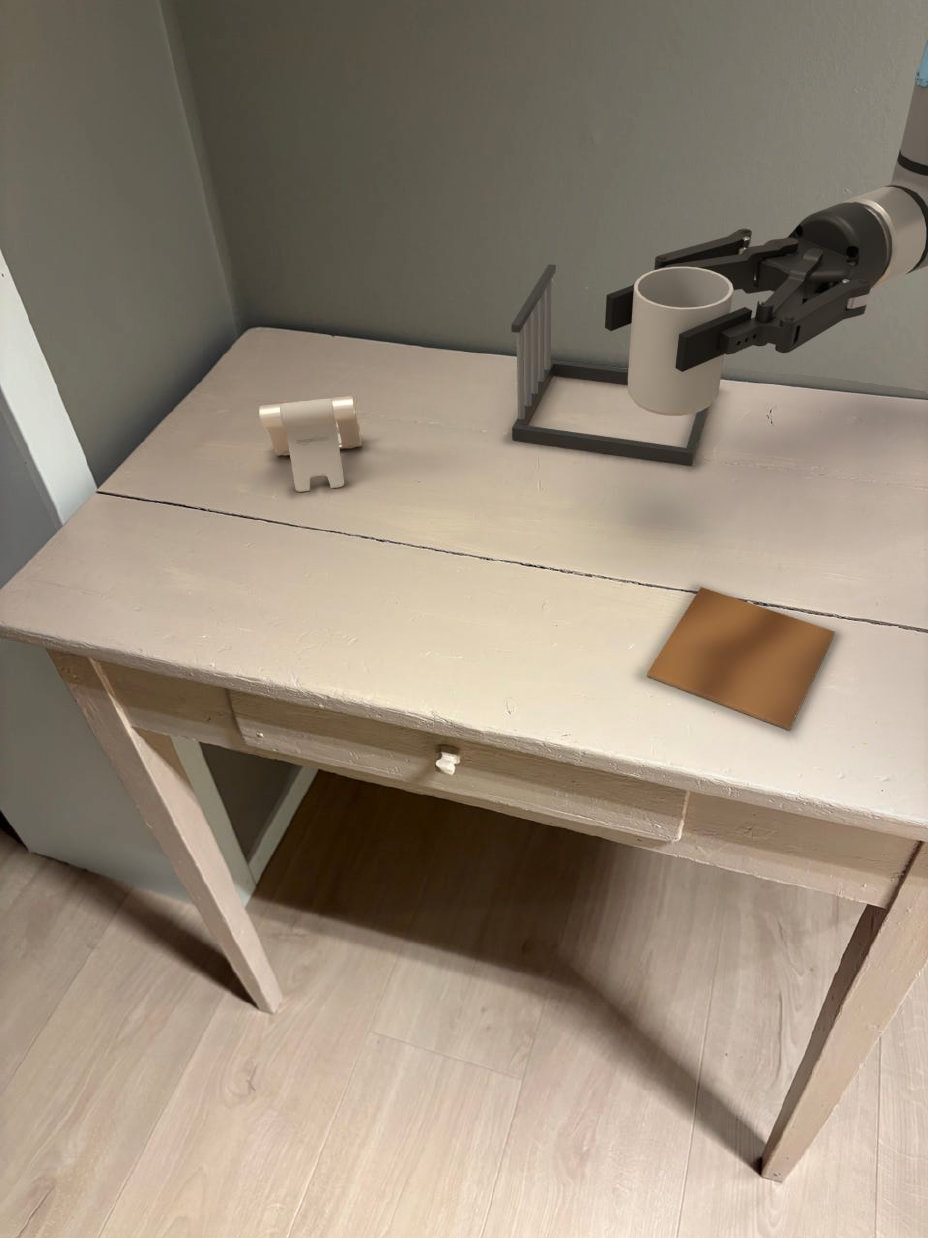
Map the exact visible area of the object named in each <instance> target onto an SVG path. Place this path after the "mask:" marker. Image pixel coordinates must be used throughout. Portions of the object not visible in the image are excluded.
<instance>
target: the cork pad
mask: <svg viewBox="0 0 928 1238" xmlns="http://www.w3.org/2000/svg"><path fill="white" fill-rule="evenodd" d="M834 636H835V631H834V630H831V629H829V628H825V627H823V626H819V625H817V624H814V623H812V622H811V623H810V622H807V621H805V620H802V619H798V618H795V617H793V616H789V615H788V614H783V613H781V612H778V611H774V610H772V609H769V608H766V607H762V606H760V605H756V604H754V603H751V602H747V601H744V600H741V599H738V598H736V597H732V596H730V595H727V594H724V593H721V592H718V591H714V590H711V589H708V588H705V587H702V586H701V587H700V588H699V589H698V591H697V592H696V593H695V595H694V598H693V599H692V601H691V602H690V604H689V605H688V607H687V609H686V610H685V612H684V613H683V615H682V617H681V618H680V620H679V621H678V622H677V625H676V626H675V628H674V630H673V631H672V632H671V634H670V636H669V637H668V638H667V640H666V642H665V644H664V645H663V647H662V649H661V650H660V652H659V653H658V655H657V656H656V658H655V660H654V661H653V663H652V665H651V666H650V667H649V669H648V671H647V674H646V676H647V677H648V678H650V679H653V680H656V681H659V682H661V683H664V684H667V685H669V686H672V687H675V688H676V689H679V690H682V691H685V692H687V693H690V694H693V695H695V696H698V697H701V698H704V699H705V700H709V701H711V702H713V703H716V704H719V705H722V706H725V707H727V708H729V709H732V710H735V711H738V712H740V713H743V714H746V715H747V716H750V717H753V718H756V719H759V720H761V721H764V722H767V723H769V724H772V725H775V726H777V727H780V728H782V729H784V730H787V731H790V730H791V728H792V726H793V724H794V721H795V720H796V717H797V715H798V713H799V711H800V709H801V707H802V705H803V702H804V701H805V698H806V696H807V694H808V692H809V690H810V687H811V685H812V683H813V681H814V679H815V677H816V674H817V673H818V670H819V668H820V666H821V664H822V661H823V659H824V657H825V655H826V653H827V650H828V649H829V647H830V644H831V642H832V639H833V638H834Z"/></svg>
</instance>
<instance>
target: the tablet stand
mask: <svg viewBox="0 0 928 1238" xmlns="http://www.w3.org/2000/svg"><path fill="white" fill-rule="evenodd" d="M258 409H259V410H258V412H259V413H258V414H259V420H260V424H261V428H262V430H267V432H268V435H269V438H270V442H271V444H272V447H273V449H274V453H275V455H276V456H289V457H290V463H291V471H292V477H293V483H294V489H295V490H296V492H300V493H302V492H310V491H311V478H314V477H323V476H325V477H326V478H327V480H328V483H329V486H330V489H338V488H342V487H344V485H345V477H344V470H343V463H342V455H341V450H340V449H355V448H358V447H363V442H362V434H361V428H360V427H361V426H360V422H359V421H358V416H357V411H356V406H355V400H354V396H353V395H347V396H338V397H331V398H330V397H329V398H320V399H309V400H301V401H293V402H284V403H283V402H282V403H274V404H265V405H259V406H258Z"/></svg>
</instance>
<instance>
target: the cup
mask: <svg viewBox="0 0 928 1238" xmlns="http://www.w3.org/2000/svg"><path fill="white" fill-rule="evenodd" d="M634 283H635V285H634V295H633V310H632V323H631V324H630V325H631V327H630V340H629V341H630V342H629V355H628V356H629V357H628V368H627V369H628V385H627V394H628V395H629V397H630V398H631V400H632V401H633V402H634V404H636V406H638V407H639V408H640V409H643V410H644V411H647V412H648V413H653V414H656V415H661V416H667V417H669V416H670V417H683V416H689V415H693V414H697V412H700V411H702V410H704V409H705V408H707V407H708V406H709V407H710V406H711V405H712V403H713V402H714V401H715V400H716V399H717V397H718V394H719V390H720V386H721V380H722V371H723V365H724V357H725V354H723V355H721V356H719V357H716V358H714V359H712V360H709V361H707V362H705V363H702V364H700V365H698V366H695V367H693V368H691V369H688V370H686V371H684V372H681V371H679V370H678V369H676V368H675V365H676V356H677V348H678V339H679V334H680V333H682V332H685V331H687V330H690V329H692V328H695V327H697V326H699V325H702V324H704V323H707V322H709V321H712V320H714V319H717V318H719V317H721V316H724V315H726V314H729V313H731V309H732V301H733V295H734V290H733V286H732V283H731V282H730V281H729V280H728V279H727V278H726V277H724V276H722V275H721V274H719V273H716V272H713V271H710V270H706V269H702V268H695V267H669V268H662V269H658V270H654V269H653V270H651V271H648V272H647V273H644V274H642V275H641V276H640V277H638V278H637V279H636V281H635V282H634ZM709 407H708V408H709Z"/></svg>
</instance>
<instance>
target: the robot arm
mask: <svg viewBox="0 0 928 1238" xmlns="http://www.w3.org/2000/svg"><path fill="white" fill-rule="evenodd" d="M916 70H917V71H916V74H915V77H914V85H913V90H912V95H911V100H910V104H909V108H908V112H907V117H906V121H905V126H904V131H903V135H902V139H901V144H900V148H899V150H898V155H897V158H896V162H895V165H894V170H893V173H892V177H891V182H890V183H889V184H887V185H884V186H882V187H880V188H876V189H874V190H872V191H869V192H866V193H863V194H861V195H857V196H855V197H851V198H848V199H846V200H844V201H842V202H841V203H838V204H837V203H836V204H834V205H831V206H829V207H826V208H824V209H821V210H818V211H816V212H813V213H811V214H809V215H808V216H806V217H805V218H803V219H802V220H801V221H800V222H799V223H798V224H797V226H796V227H795V228H794V229H793V230H792V231H791V233H789V235H788V236H787V237H783V238H775V239H770V240H768V241H766V242H764V243H762V242H758V241H755V240H752V234H753V231H752V230H751V229H748V228H740V229H738V230H735V231H734V232H733V233H731V234H729V235H727V236H725V237H720V238H717V239H713V240H709V241H706V242H703V243H702V242H701V243H698V244H695V245H691V246H688V247H685V248H681V249H676V250H674V251H669V252H667V253H663V254H659V255H656V256H655V257H654V259H655V260H654V267H653V268H654V269H653V271H654V270H658V269H662V268H669V267H695V268H702V269H706V270H710V271H713V272H716V273H719V274H721V275H722V276H724V277H726V278H727V279H728V280H729V281H730V282H731V283H732V286H733V291H738V290H742V291H743V292H744V293H745V294H747V295H749V294H756V293H757V294H758V293H763V292H769V291H771V292H773V293H772V294H770V296H769V297H768V298H767V299H766V300H765V301H761V303H760V300H758V301H757V302H756V303H757V304H756V309H755V315H754V317H752V316H753V310H752V309H750V308H748V307H747V306H744V307H741V308H738V309H736V310H734V311H730V313H729V314H726V315H724V316H721V317H719V318H717V319H714V320H712V321H709V322H707V323H704V324H702V325H699V326H697V327H695V328H692V329H690V330H687V331H685V332H682V333H680V334H679V339H678V348H677V356H676V365H675V368H676V369H678V370H679V371H681V372H684V371H686V370H688V369H691V368H693V367H695V366H698V365H700V364H702V363H705V362H707V361H709V360H712V359H714V358H716V357H719V356H721V355H723V354H724V355H726V356H728V355H734V354H736V353H738V352H741V351H743V350H745V349H748V348H750V347H752V346H755V347H765V346H766V345H768V344H771V345H774V346H775V347H774V350H775V351H776V352H777V353H780V354H789V353H791V352H793V351H794V350H796V349H798V348H800V347H801V346H802V345H804V344H806V343H808V342H809V341H811V340H813V339H814V338H816V337H817V336H819V335H821V334H823V333H824V332H826V331H827V330H829V329H831V328H832V327H834V326H836V325H837V324H838V323H840V322H842V321H843V320H847V319H851V318H856V317H859V316H862V315H864V314H865V313H866V309H867V306H868V305H867V304H868V301H869V297H870V293H871V290H873V289H875V288H878V287H880V286H882V285H884V284H888V283H890V282H892V281H893V280H896V279H898V278H900V277H903V276H906V275H908V274H911V273H913V272H915V271H919V270H920V269H923V268H925V267H928V38H927V39H926V42H925V46H924V50H923V53H922V56H921V59H920V63H919V66H918V68H917V69H916ZM635 283H636V282H634V283H633V284H632V285H629V286H626V287H624V288H621V289H619V290H615V291H613V292H610V293H608V294H606V299H605V300H606V301H605V314H604V315H605V316H604V317H605V318H604V329H605V330H608V331H610V332H613V331H615V330H619V329H621V328H623V327H625V326H628V325H632V310H633V295H634V285H635Z"/></svg>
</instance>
